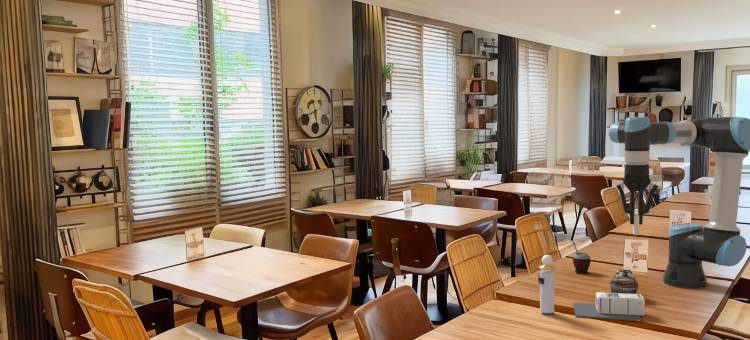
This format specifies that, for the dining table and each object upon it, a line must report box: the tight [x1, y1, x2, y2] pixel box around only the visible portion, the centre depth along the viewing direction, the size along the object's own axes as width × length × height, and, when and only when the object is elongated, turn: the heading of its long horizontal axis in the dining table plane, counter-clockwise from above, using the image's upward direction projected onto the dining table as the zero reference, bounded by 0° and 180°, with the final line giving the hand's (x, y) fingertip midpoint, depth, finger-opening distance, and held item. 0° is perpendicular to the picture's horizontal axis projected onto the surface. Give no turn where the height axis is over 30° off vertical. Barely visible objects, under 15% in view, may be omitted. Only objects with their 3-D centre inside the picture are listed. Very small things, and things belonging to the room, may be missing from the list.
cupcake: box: [609, 269, 639, 294], centre depth 215 cm, size 10×10×10 cm
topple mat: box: [572, 302, 642, 322], centre depth 199 cm, size 20×14×1 cm
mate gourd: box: [567, 237, 591, 275], centre depth 250 cm, size 8×8×15 cm
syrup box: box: [595, 291, 646, 316], centre depth 197 cm, size 6×6×14 cm
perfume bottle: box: [537, 254, 557, 314], centre depth 199 cm, size 6×6×20 cm
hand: (635, 234), depth 198 cm, fingers closed
